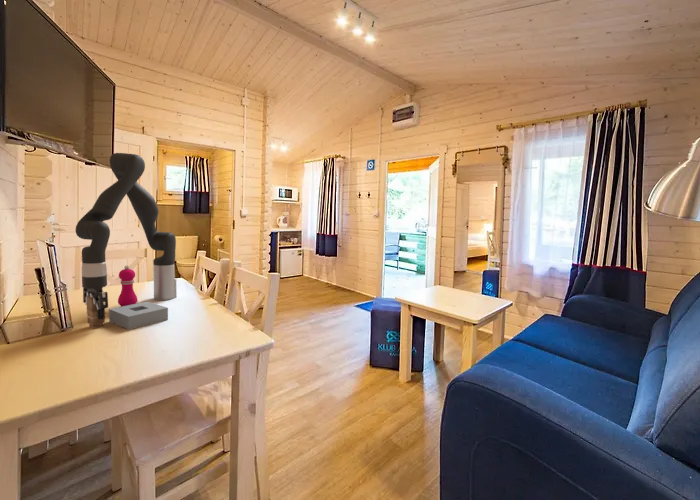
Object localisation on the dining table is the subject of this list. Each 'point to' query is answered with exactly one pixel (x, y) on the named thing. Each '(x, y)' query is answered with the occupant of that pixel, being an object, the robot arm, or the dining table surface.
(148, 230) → the robot arm
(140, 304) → the socket board
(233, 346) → the dining table surface
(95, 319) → the walnut peg
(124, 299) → the pepper mill
